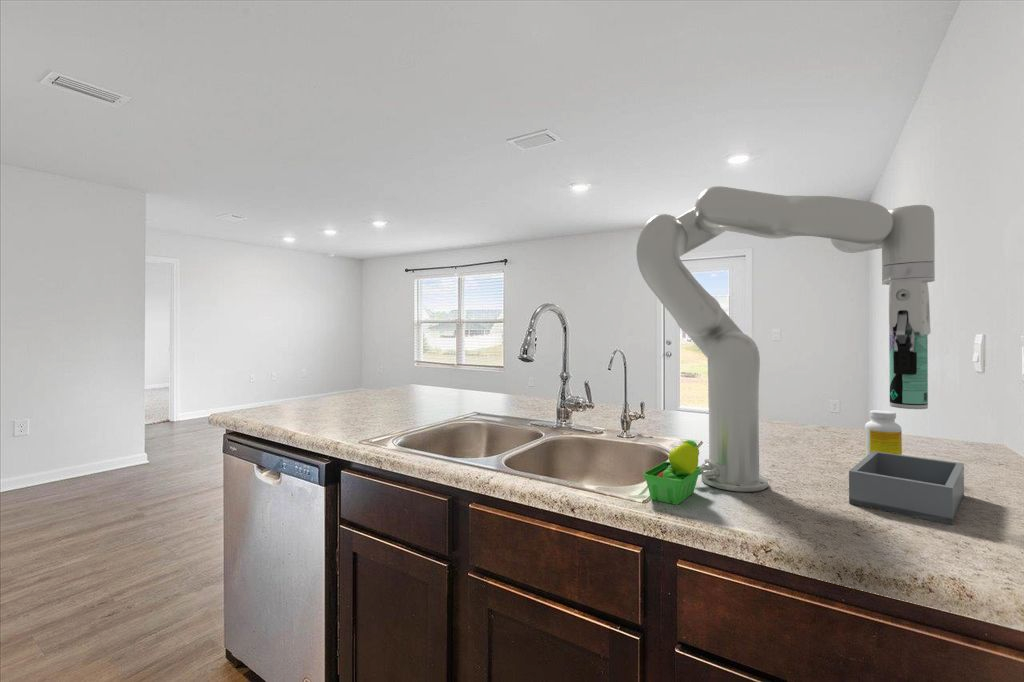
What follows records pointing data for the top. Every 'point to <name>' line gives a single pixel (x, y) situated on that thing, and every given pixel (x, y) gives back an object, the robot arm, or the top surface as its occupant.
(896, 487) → the bin
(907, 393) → the spray can
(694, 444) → the fruit basket
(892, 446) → the supplement bottle
